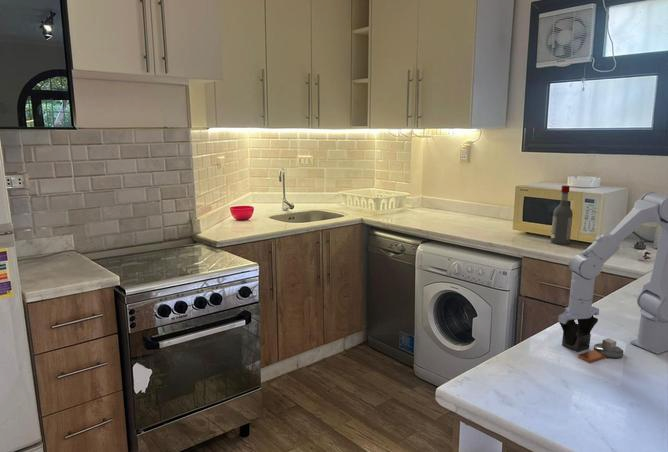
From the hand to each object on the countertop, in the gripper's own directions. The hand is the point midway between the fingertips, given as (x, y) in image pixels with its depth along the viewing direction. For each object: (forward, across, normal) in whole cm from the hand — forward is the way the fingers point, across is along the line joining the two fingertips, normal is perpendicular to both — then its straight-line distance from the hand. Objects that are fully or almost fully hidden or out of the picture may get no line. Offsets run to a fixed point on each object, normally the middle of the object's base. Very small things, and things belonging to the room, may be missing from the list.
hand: (575, 342), depth 140 cm
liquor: (+2, -100, -86) cm, 132 cm away
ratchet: (+1, -2, +7) cm, 7 cm away
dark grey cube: (+1, 0, 0) cm, 1 cm away
